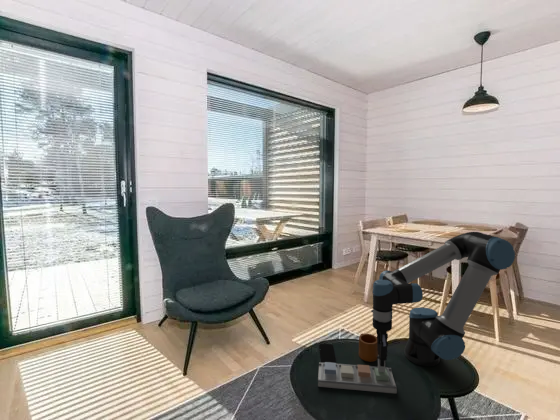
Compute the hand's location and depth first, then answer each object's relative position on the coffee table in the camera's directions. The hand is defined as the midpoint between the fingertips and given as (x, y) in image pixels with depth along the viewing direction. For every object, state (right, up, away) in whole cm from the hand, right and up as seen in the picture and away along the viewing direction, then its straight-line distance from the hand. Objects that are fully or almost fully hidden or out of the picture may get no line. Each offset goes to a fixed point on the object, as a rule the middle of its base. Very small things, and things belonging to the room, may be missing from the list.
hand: (381, 371), depth 127 cm
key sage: (0, -2, 0) cm, 2 cm away
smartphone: (-19, -3, +21) cm, 29 cm away
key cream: (-14, -2, +3) cm, 14 cm away
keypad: (-10, -5, +2) cm, 12 cm away
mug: (0, -2, +20) cm, 20 cm away
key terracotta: (-7, -2, +1) cm, 7 cm away
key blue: (-21, -2, +4) cm, 21 cm away
